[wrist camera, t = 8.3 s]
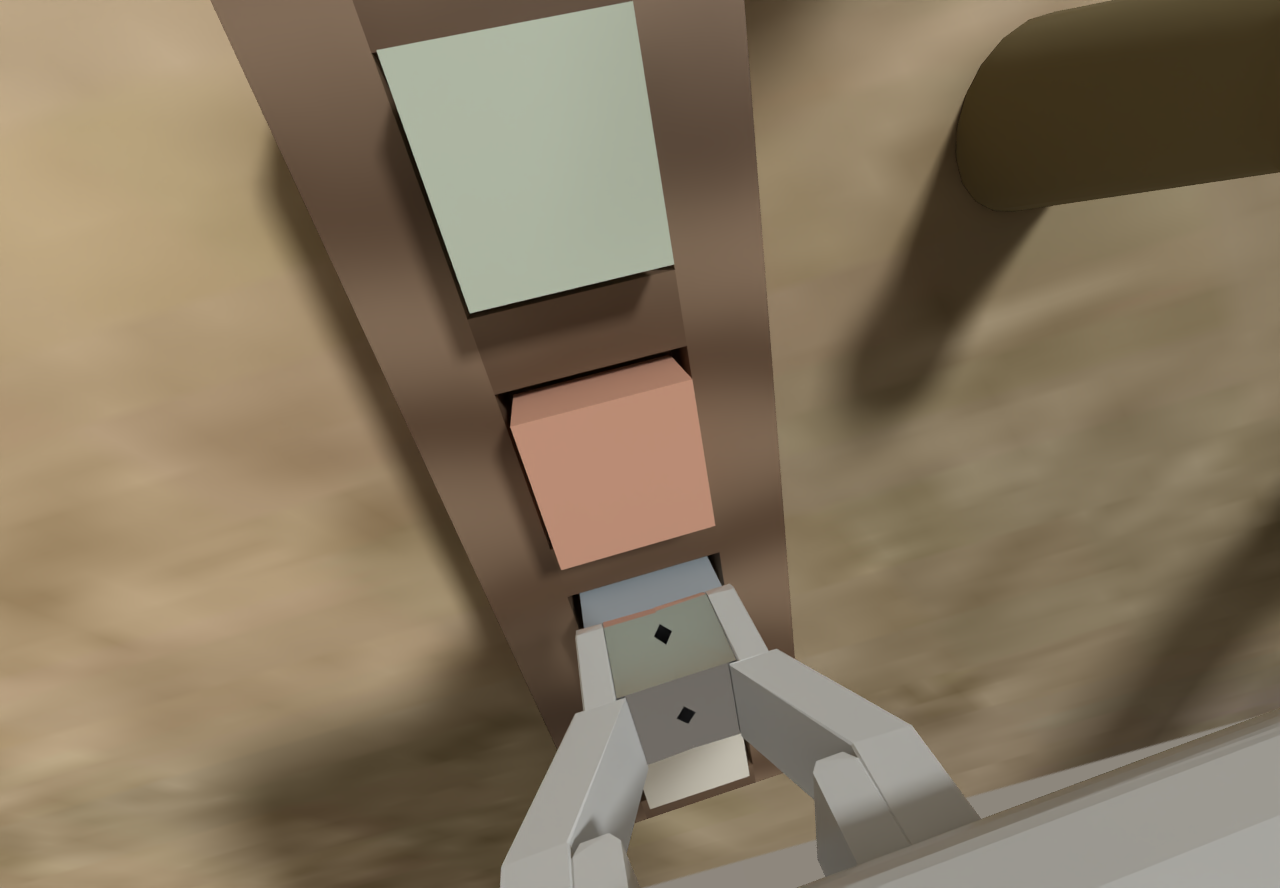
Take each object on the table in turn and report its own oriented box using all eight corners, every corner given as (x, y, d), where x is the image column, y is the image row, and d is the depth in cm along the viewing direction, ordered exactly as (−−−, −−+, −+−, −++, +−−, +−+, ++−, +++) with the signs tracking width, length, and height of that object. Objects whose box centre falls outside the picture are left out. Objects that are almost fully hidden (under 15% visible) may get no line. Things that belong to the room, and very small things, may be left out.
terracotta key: (513, 394, 15) (510, 426, 13) (669, 354, 16) (692, 379, 13) (557, 524, 18) (561, 570, 15) (692, 486, 18) (715, 525, 16)
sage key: (405, 79, 12) (376, 49, 9) (614, 38, 12) (632, 0, 10) (479, 296, 14) (469, 313, 12) (652, 255, 14) (674, 264, 12)
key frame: (289, 38, 13) (199, -23, 10) (684, -36, 14) (735, -116, 11) (588, 756, 28) (597, 835, 25) (770, 698, 29) (802, 766, 26)
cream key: (619, 696, 23) (628, 747, 21) (719, 664, 24) (739, 711, 22) (640, 757, 26) (650, 809, 24) (731, 727, 26) (749, 775, 24)
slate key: (578, 586, 19) (584, 637, 17) (704, 550, 19) (726, 594, 17) (608, 673, 21) (617, 727, 19) (719, 638, 22) (741, 688, 19)
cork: (964, 239, 19) (1402, 274, 10) (946, 61, 17) (1540, -145, 7) (1106, 168, 19) (1694, 131, 9) (1112, -23, 16) (1958, -355, 7)
